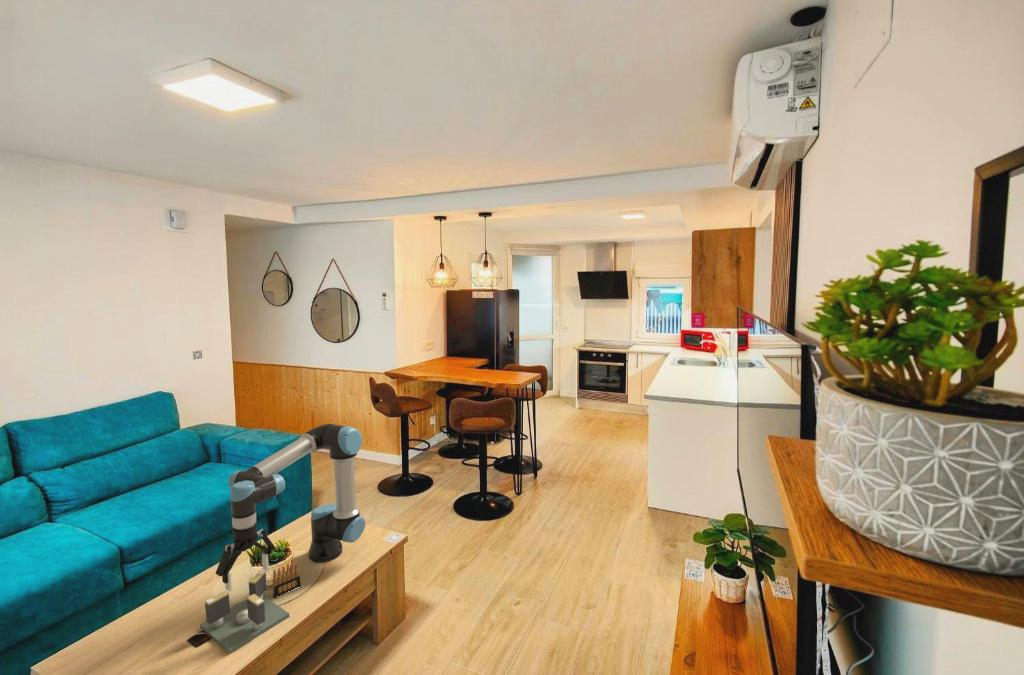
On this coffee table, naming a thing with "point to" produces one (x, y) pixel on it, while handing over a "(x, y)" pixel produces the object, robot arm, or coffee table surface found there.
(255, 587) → the grey brown rectangular block
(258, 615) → the knob
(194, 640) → the smartphone
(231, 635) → the plate
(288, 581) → the ammunition clip
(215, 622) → the knob
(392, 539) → the coffee table surface
